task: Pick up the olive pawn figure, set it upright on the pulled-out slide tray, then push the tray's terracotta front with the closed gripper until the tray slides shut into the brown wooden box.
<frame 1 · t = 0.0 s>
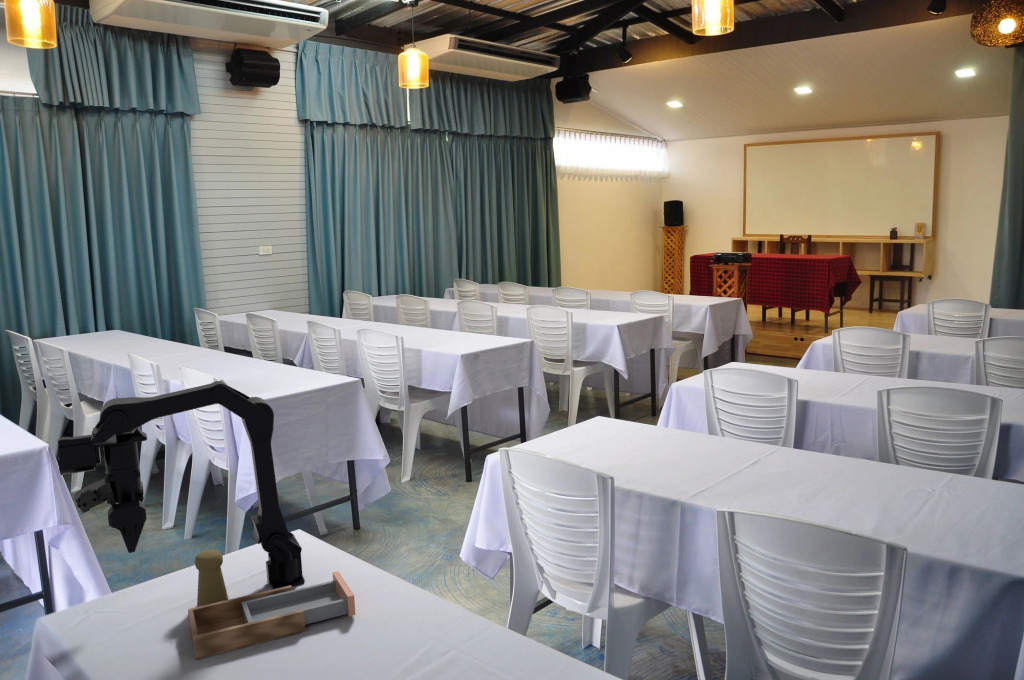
hand: (131, 543, 151), 15 cm above the table, fingers open, 9 cm apart
brown wooden box: (250, 629, 146), on the table
tray: (297, 604, 150), point 3 cm above the table, slide at 8.0 cm
olive pawn figure: (213, 605, 156), on the table
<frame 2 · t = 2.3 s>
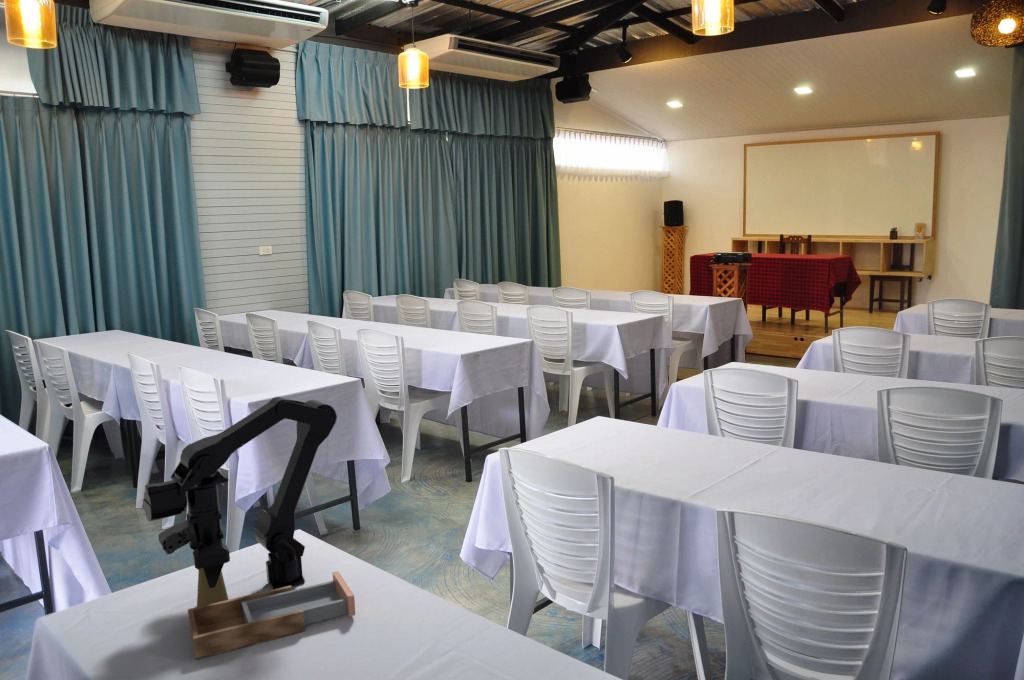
hand: (211, 582, 156), 5 cm above the table, fingers closed on olive pawn figure, 4 cm apart
olive pawn figure: (213, 605, 156), on the table, touching gripper
everything else where it was.
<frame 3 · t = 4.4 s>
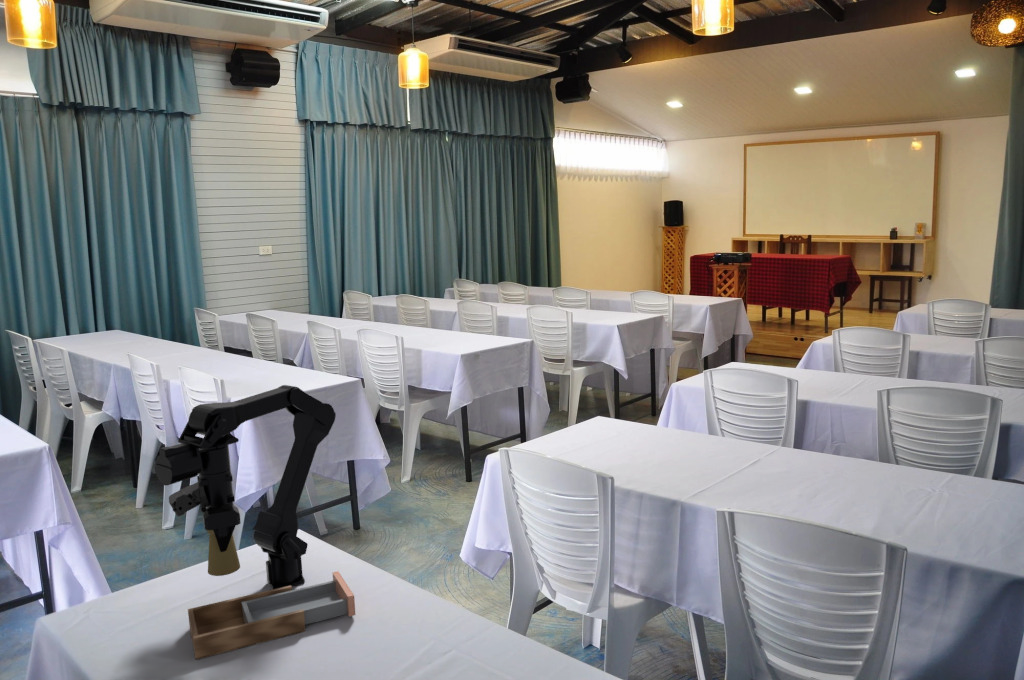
hand: (222, 546, 152), 13 cm above the table, fingers closed on olive pawn figure, 4 cm apart
olive pawn figure: (224, 569, 153), point 8 cm above the table, touching gripper
everything else where it was.
when the fingers open (7 cm above the table, at t = 6.9 s): olive pawn figure stays where it is, resting on tray.
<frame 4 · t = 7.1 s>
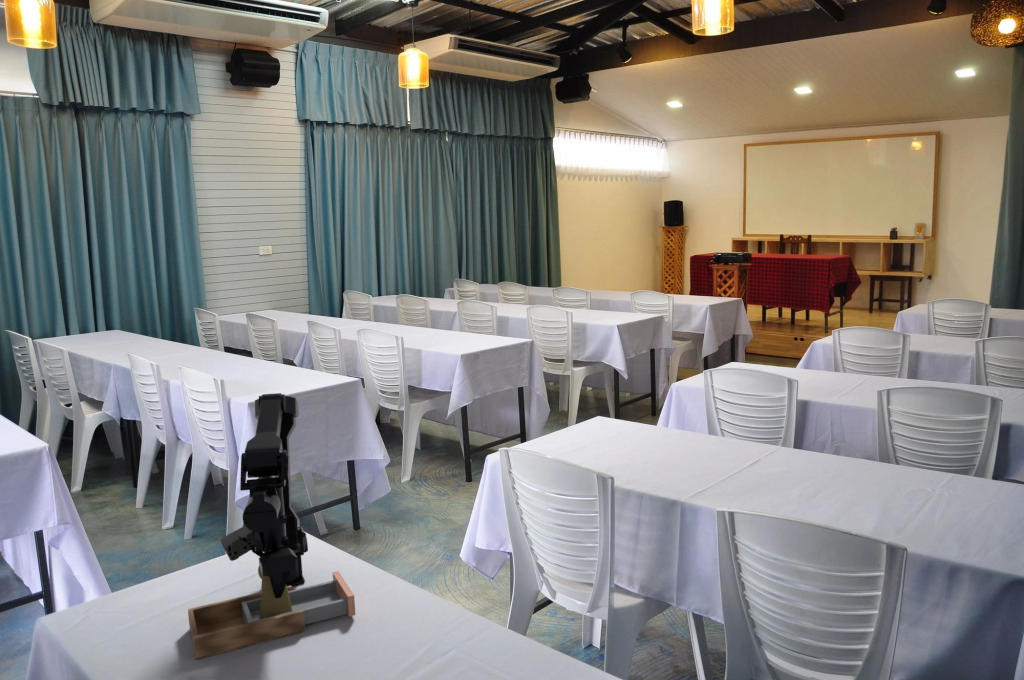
hand: (274, 590, 147), 7 cm above the table, fingers open, 7 cm apart
tray: (297, 604, 150), point 3 cm above the table, slide at 8.0 cm, touching olive pawn figure
olive pawn figure: (276, 616, 148), point 1 cm above the table, touching tray
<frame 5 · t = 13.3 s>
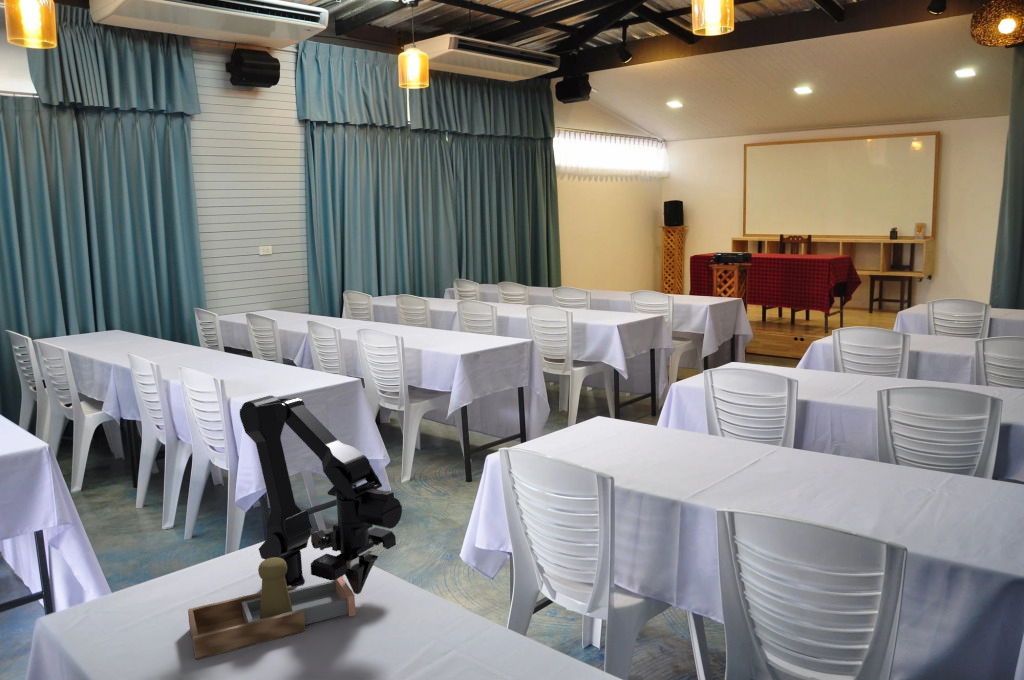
hand: (357, 593, 155), 2 cm above the table, fingers closed
tray: (297, 604, 150), point 3 cm above the table, slide at 8.0 cm, touching gripper, olive pawn figure
everything else where it was.
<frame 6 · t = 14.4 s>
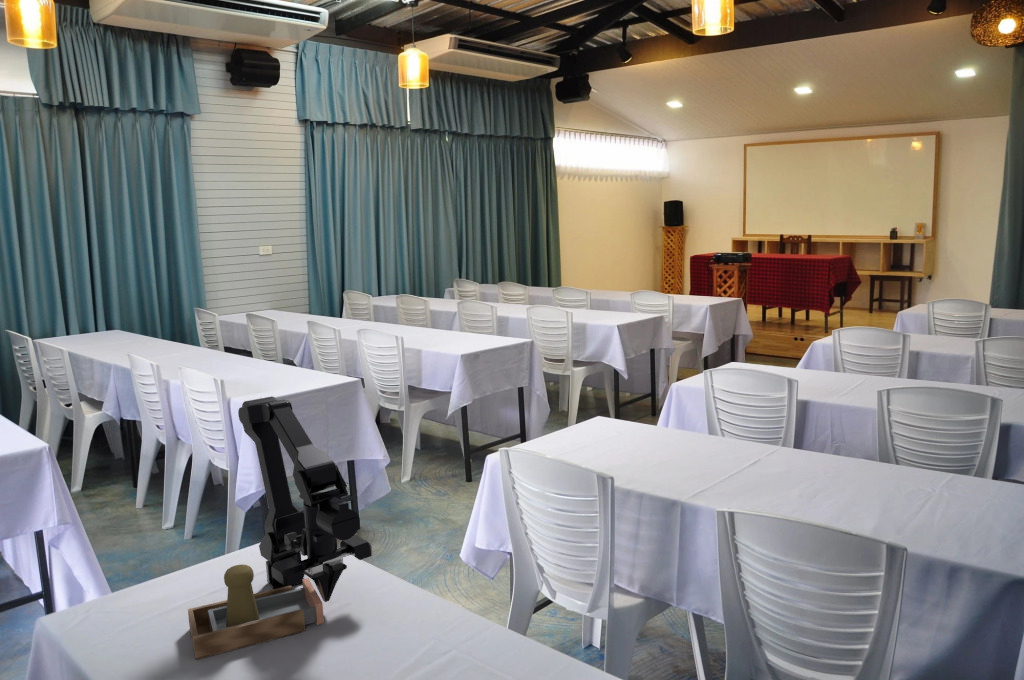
hand: (326, 600, 152), 2 cm above the table, fingers closed
tray: (264, 612, 147), point 3 cm above the table, slide at 2.0 cm, touching gripper, olive pawn figure
olive pawn figure: (243, 624, 146), point 1 cm above the table, touching tray
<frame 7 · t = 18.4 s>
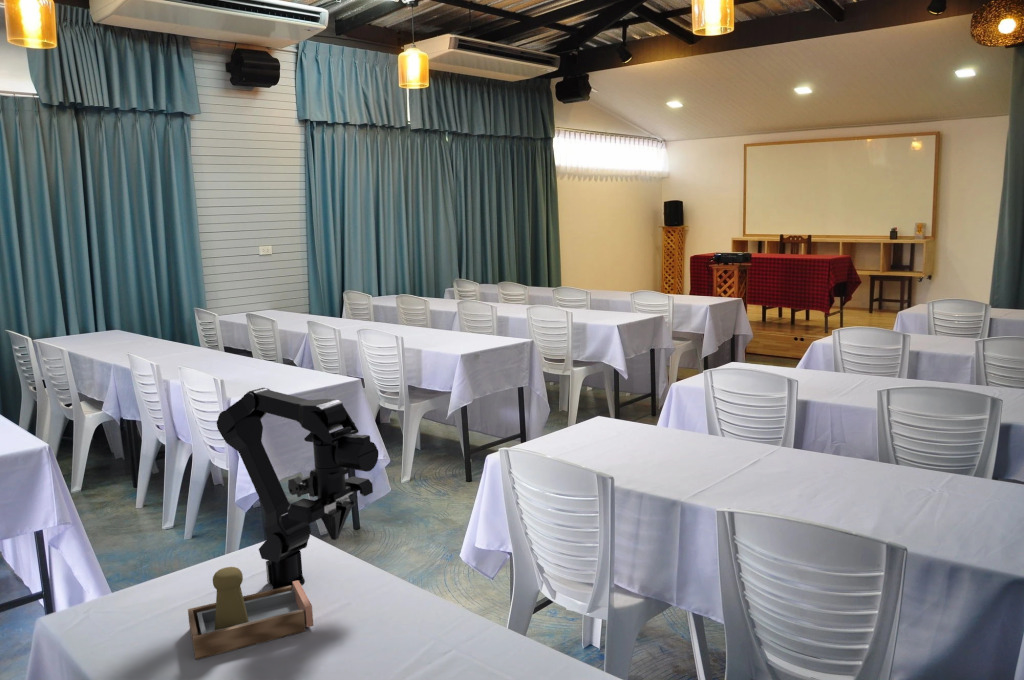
hand: (334, 539, 157), 12 cm above the table, fingers closed
tray: (254, 614, 146), point 3 cm above the table, slide at 0.0 cm, touching olive pawn figure
olive pawn figure: (232, 626, 145), point 1 cm above the table, touching tray
at the end: tray slide at 0.0 cm; olive pawn figure inside the target area on the brown wooden box (2.0 cm from its centre), point 1.3 cm above the brown wooden box's base; olive pawn figure tilted 0° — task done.
